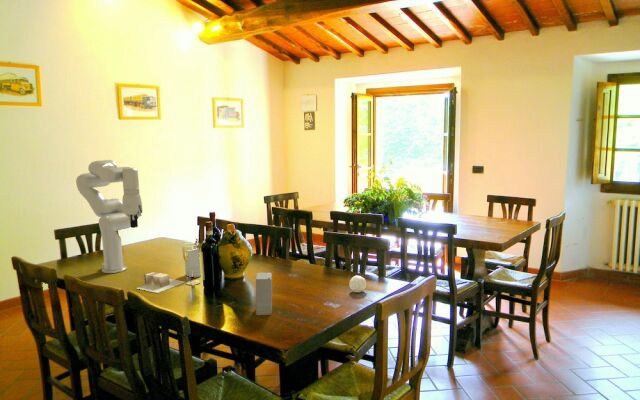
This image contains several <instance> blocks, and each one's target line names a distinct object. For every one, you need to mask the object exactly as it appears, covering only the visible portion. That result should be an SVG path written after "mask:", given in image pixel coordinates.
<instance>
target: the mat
mask: <svg viewBox="0 0 640 400" xmlns="http://www.w3.org/2000/svg"><path fill="white" fill-rule="evenodd" d="M185 283H186V281H182V280H177V279H173V278H172V279H171V278H170V285H167V286H165V287H158V286H152V285H147V284H144V285H142V286H138V287H136V288H135V289H136V290H139V289H140V290H139V291H144V290H145V291H144V292H148V293H149V292H150V293H155V294H160V293H162V292H164V291H167V290H169V289H172V288H175V287H176V286H177V287H178V286H179V285H182V284H185Z"/></svg>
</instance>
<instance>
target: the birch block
mask: <svg viewBox="0 0 640 400" xmlns="http://www.w3.org/2000/svg"><path fill="white" fill-rule="evenodd" d="M143 276H144V285H146V284H147V285H152V286H158V287H165V286H167V285H170V279H171V278H170V274H168V273H167V274H166V273H163V272H162V273H160V272H156V271H155V272H154V271H150V272H148V273H144V274H143Z"/></svg>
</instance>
